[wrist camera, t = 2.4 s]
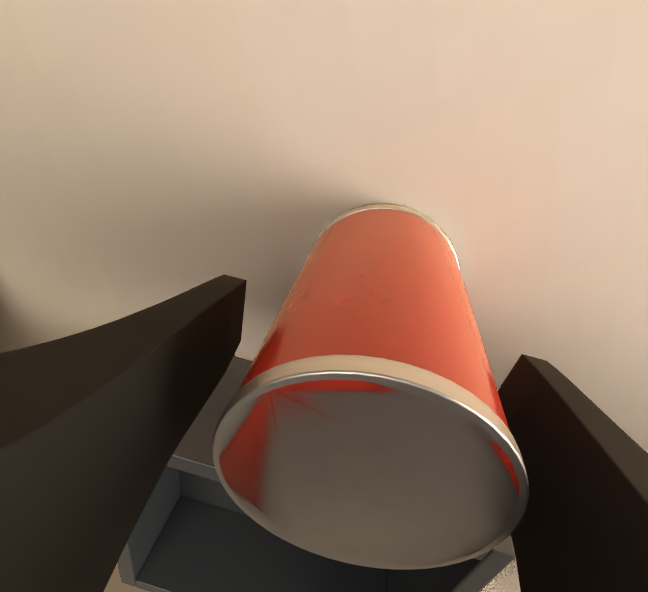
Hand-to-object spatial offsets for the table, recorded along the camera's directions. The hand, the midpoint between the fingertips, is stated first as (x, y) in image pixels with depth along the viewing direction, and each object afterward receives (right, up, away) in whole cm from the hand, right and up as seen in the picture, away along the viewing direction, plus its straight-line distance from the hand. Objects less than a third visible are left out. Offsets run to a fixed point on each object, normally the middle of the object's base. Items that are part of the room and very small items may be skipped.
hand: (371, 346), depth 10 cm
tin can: (+1, +2, +3) cm, 4 cm away
